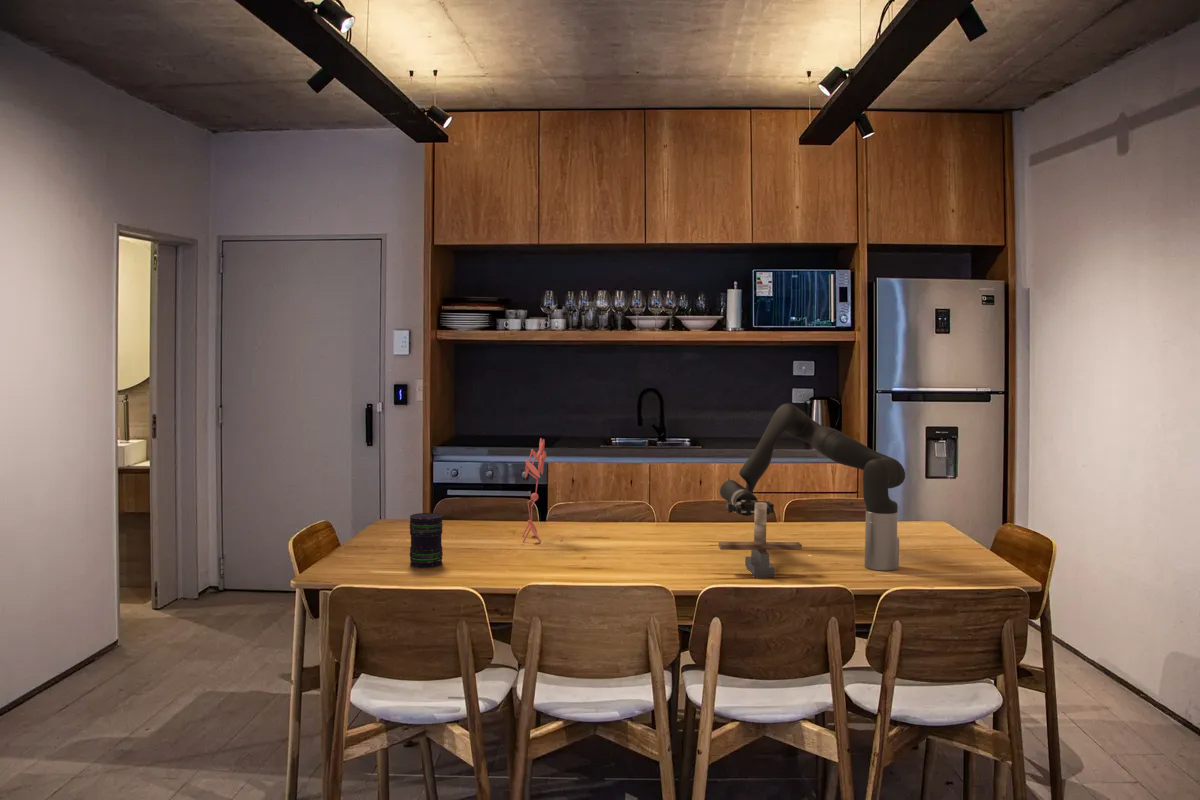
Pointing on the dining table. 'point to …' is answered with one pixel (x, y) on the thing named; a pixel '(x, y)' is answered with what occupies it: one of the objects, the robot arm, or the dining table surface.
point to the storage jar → (426, 540)
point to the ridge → (760, 564)
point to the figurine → (540, 458)
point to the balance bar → (760, 536)
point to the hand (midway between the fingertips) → (754, 511)
